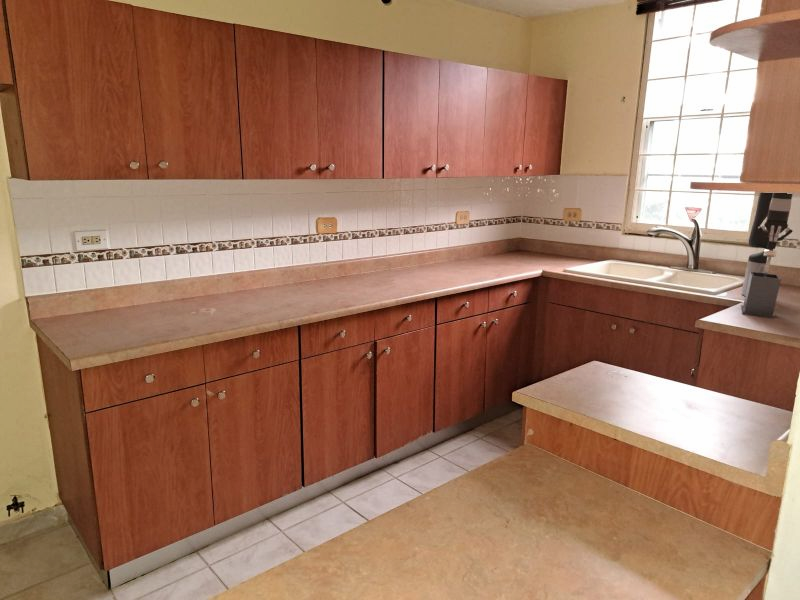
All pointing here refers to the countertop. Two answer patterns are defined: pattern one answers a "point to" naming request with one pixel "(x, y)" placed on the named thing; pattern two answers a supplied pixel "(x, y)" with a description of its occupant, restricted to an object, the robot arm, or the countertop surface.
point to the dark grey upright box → (761, 295)
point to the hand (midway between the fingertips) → (770, 249)
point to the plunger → (768, 259)
